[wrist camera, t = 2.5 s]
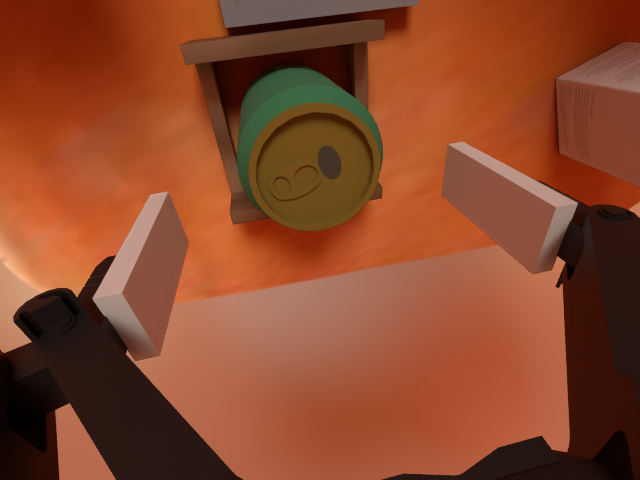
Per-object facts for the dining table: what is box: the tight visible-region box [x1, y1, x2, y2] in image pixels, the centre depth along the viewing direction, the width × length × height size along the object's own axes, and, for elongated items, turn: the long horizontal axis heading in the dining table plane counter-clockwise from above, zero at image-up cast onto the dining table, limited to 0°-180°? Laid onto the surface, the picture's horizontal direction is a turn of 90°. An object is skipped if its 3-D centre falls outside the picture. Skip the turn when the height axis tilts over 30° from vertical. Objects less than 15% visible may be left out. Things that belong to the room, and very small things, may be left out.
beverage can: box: [237, 63, 383, 231], centre depth 22 cm, size 8×8×12 cm
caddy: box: [180, 20, 385, 225], centre depth 24 cm, size 12×12×5 cm
